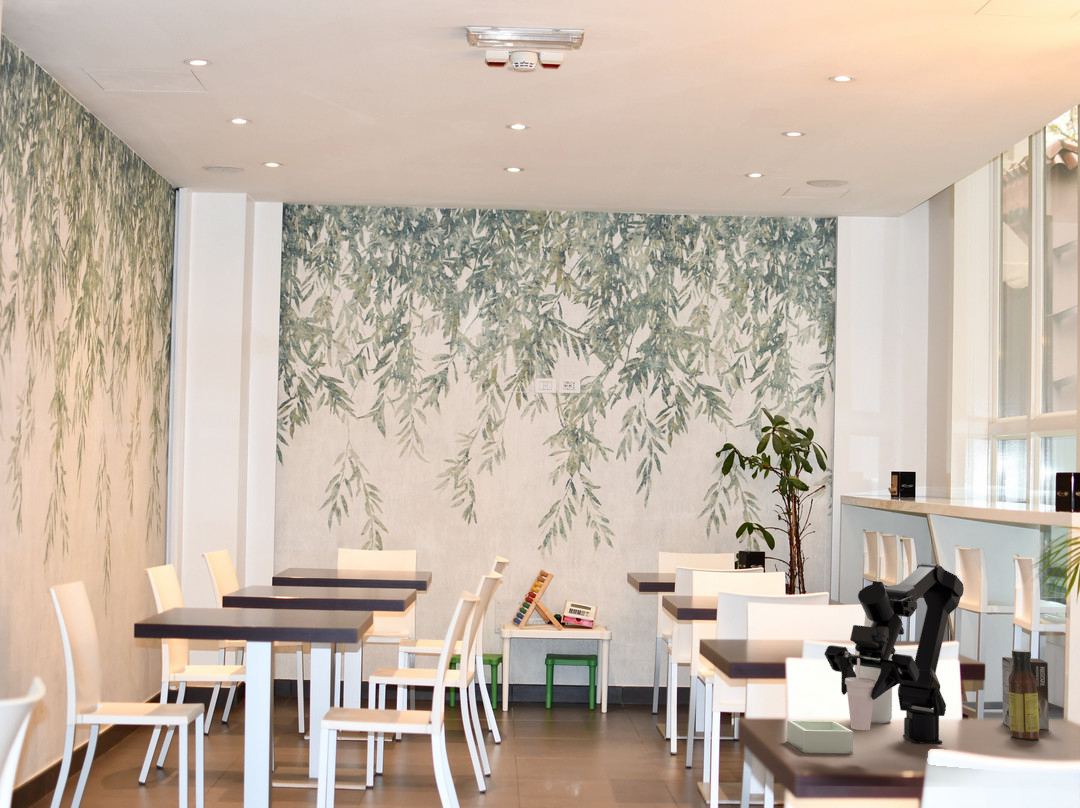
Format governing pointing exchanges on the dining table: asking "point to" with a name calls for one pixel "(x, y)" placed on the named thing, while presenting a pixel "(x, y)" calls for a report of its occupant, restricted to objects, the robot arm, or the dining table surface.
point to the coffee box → (1041, 675)
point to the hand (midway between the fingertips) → (857, 695)
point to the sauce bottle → (1023, 698)
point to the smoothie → (860, 700)
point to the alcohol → (884, 701)
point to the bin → (819, 736)
